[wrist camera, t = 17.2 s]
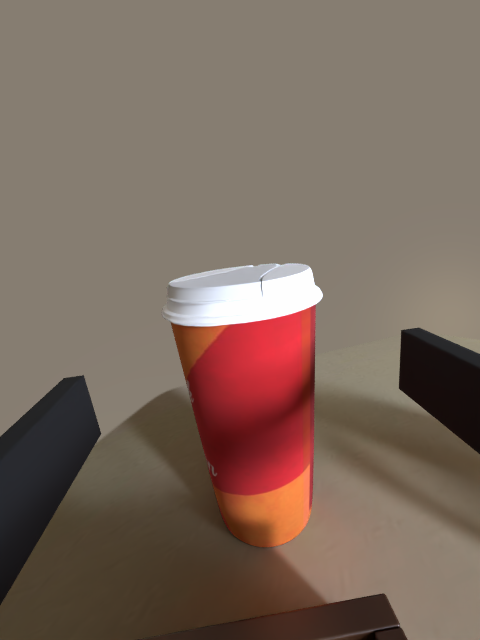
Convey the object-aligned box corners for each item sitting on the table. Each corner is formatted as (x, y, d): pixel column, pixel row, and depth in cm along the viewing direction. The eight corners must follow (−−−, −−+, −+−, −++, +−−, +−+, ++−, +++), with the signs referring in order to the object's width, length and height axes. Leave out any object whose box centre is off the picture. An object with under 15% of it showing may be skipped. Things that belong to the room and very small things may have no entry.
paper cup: (246, 442, 23) (222, 264, 19) (346, 478, 18) (342, 258, 15) (174, 526, 17) (117, 290, 13) (298, 610, 12) (268, 291, 8)
